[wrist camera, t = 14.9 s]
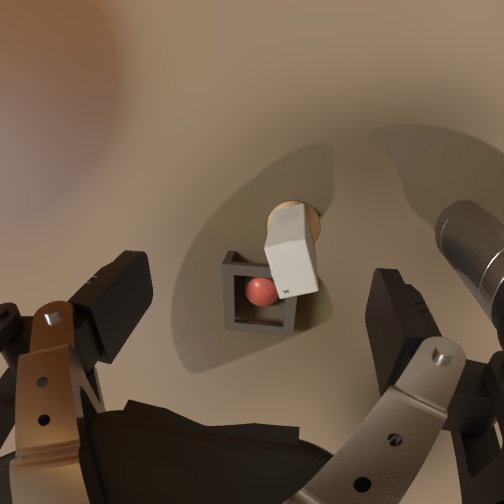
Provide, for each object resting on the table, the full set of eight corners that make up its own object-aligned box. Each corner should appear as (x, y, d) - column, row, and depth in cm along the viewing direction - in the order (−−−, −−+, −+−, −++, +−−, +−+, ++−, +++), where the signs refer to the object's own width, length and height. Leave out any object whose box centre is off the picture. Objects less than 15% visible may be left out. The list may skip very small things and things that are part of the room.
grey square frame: (299, 255, 43) (299, 269, 40) (293, 318, 48) (292, 335, 45) (228, 250, 44) (221, 263, 41) (230, 313, 49) (225, 329, 46)
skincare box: (315, 243, 41) (319, 293, 31) (284, 250, 43) (278, 301, 32) (304, 201, 39) (306, 238, 29) (272, 208, 40) (261, 248, 30)
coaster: (322, 202, 40) (322, 203, 39) (317, 251, 43) (317, 253, 42) (268, 199, 40) (267, 200, 40) (266, 248, 43) (266, 250, 43)
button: (282, 272, 44) (282, 277, 43) (280, 305, 47) (280, 310, 46) (243, 269, 45) (241, 274, 44) (243, 301, 48) (242, 307, 46)
